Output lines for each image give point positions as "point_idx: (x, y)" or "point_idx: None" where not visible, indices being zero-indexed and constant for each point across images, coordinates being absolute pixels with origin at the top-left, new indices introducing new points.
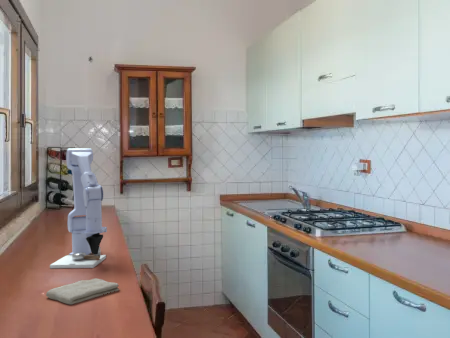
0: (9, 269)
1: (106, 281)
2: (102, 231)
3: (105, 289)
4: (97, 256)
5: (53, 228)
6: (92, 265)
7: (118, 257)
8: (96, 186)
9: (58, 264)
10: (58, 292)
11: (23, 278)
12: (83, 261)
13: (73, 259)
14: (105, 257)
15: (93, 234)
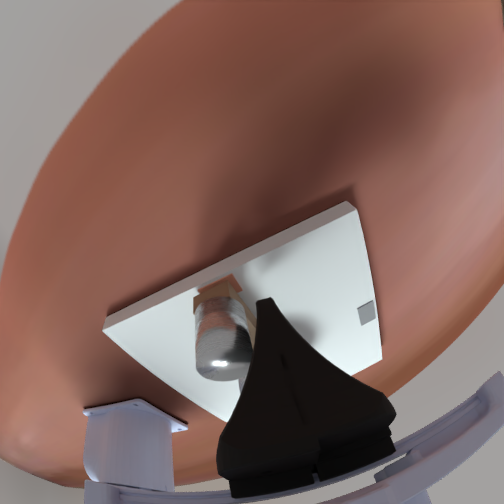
0: (387, 394)
1: None
2: (379, 502)
3: None
4: (233, 299)
5: (82, 479)
6: (354, 211)
7: (49, 268)
8: None
9: (372, 348)
10: None
11: (471, 302)
12: (298, 318)
13: None
14: (112, 317)
15: (357, 469)
